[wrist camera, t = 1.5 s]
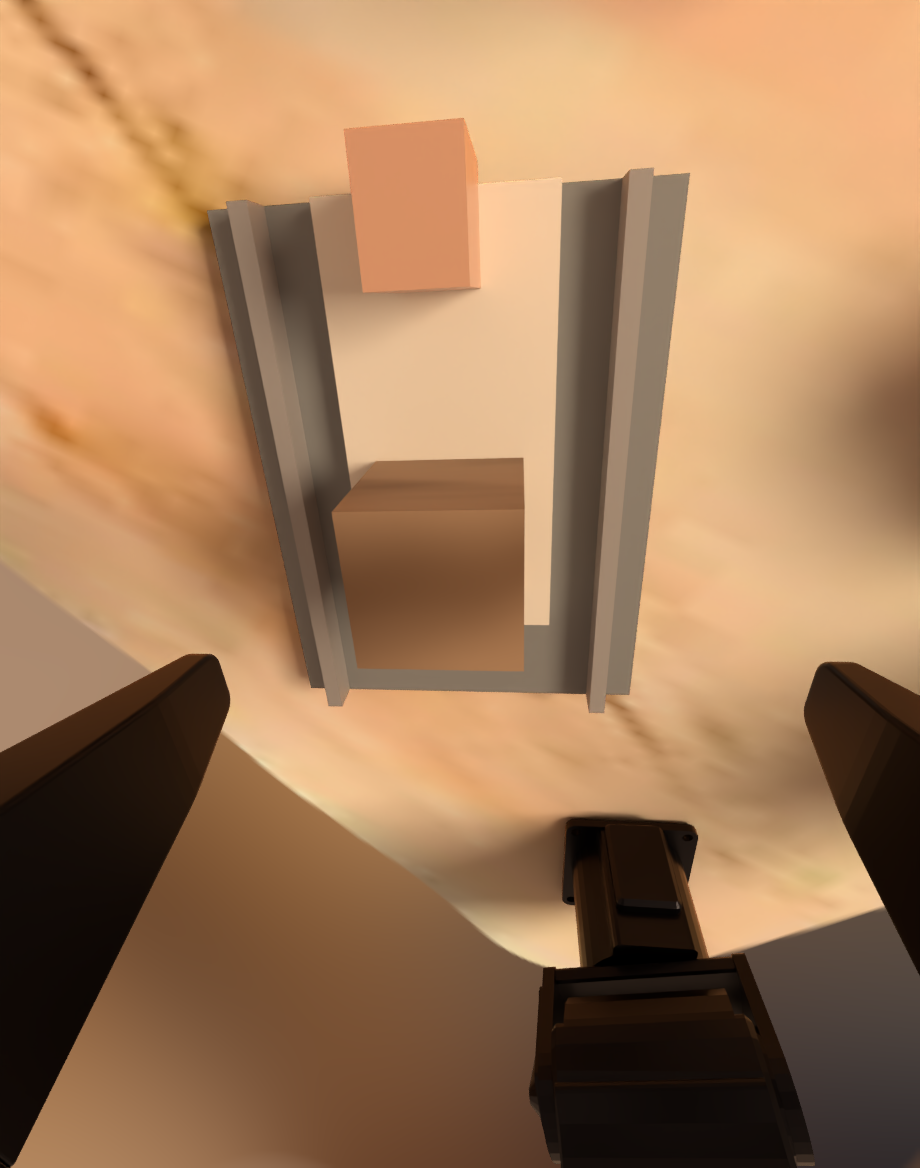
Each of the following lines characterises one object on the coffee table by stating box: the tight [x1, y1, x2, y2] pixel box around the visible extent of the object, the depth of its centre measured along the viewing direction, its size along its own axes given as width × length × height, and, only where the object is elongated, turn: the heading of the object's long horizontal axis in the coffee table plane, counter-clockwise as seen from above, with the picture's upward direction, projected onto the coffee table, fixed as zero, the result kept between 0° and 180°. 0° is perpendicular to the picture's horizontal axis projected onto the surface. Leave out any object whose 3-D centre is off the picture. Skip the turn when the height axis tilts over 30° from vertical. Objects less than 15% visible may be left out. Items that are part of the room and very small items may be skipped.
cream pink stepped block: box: [309, 118, 562, 625], centre depth 17 cm, size 14×7×5 cm, turn 3°
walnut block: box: [332, 458, 525, 671], centre depth 17 cm, size 5×5×5 cm
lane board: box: [207, 168, 690, 713], centre depth 20 cm, size 18×14×2 cm
